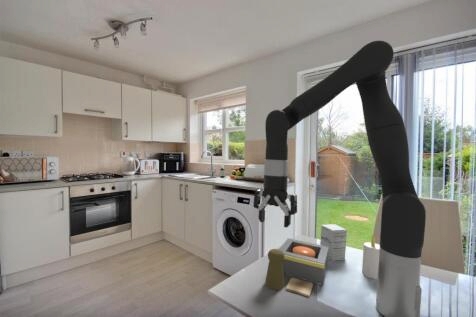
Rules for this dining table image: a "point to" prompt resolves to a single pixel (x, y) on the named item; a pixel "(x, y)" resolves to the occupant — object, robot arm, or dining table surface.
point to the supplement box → (334, 241)
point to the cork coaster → (299, 287)
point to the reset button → (304, 251)
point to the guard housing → (305, 261)
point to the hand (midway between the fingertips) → (273, 224)
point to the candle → (371, 259)
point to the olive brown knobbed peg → (275, 270)
